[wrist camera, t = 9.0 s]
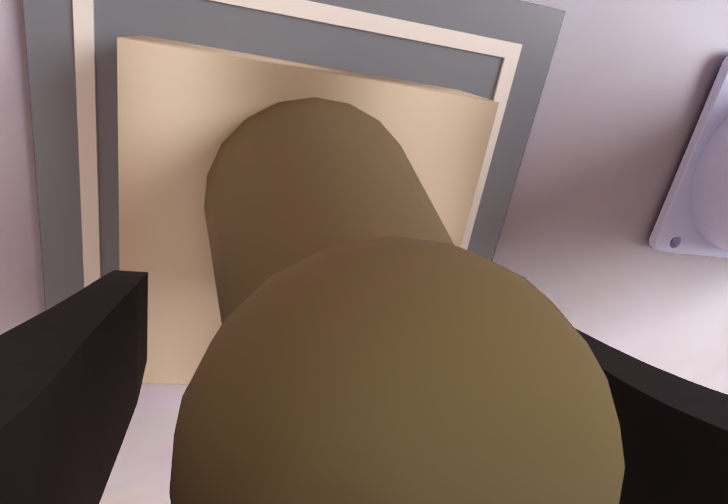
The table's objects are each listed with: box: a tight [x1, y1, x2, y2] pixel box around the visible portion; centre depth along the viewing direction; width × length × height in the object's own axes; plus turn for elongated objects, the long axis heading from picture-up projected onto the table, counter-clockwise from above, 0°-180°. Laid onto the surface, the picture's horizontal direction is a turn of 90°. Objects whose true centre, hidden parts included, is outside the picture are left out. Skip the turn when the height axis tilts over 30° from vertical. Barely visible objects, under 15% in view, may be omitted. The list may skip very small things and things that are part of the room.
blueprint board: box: [23, 0, 566, 310], centre depth 18 cm, size 16×15×1 cm
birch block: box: [117, 35, 499, 385], centre depth 16 cm, size 10×10×3 cm
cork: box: [169, 97, 625, 504], centre depth 10 cm, size 6×6×11 cm
